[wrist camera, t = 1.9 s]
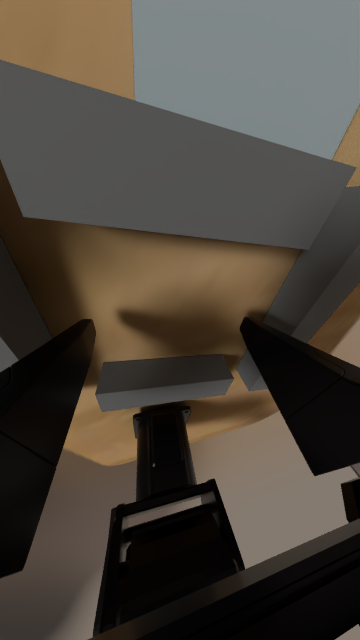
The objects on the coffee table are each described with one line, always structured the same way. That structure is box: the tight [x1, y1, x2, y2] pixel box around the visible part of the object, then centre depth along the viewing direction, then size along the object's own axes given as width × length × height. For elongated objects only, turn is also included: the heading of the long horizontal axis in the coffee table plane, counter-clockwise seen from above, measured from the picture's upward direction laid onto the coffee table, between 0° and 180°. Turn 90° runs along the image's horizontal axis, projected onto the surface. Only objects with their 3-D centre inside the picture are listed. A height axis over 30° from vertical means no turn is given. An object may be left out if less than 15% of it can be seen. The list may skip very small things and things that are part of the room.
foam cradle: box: [0, 60, 360, 412], centre depth 9 cm, size 14×19×2 cm
